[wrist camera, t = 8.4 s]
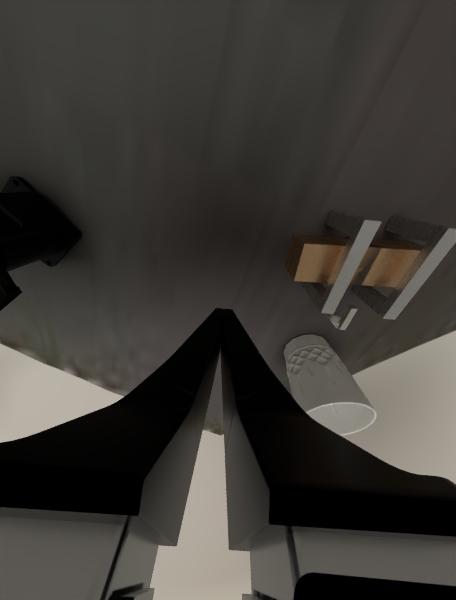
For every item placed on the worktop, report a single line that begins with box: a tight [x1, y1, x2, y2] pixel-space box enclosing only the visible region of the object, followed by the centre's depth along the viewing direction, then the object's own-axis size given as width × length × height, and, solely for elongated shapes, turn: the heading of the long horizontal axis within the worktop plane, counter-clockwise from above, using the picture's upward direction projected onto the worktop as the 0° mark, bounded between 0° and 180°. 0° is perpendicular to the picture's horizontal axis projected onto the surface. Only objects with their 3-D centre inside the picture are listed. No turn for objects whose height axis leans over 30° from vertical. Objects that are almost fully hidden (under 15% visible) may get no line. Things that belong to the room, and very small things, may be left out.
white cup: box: [283, 334, 377, 436], centre depth 23 cm, size 8×8×10 cm
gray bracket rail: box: [303, 211, 456, 330], centre depth 18 cm, size 7×11×5 cm, turn 175°
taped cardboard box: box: [285, 234, 424, 287], centre depth 18 cm, size 12×4×4 cm, turn 87°
